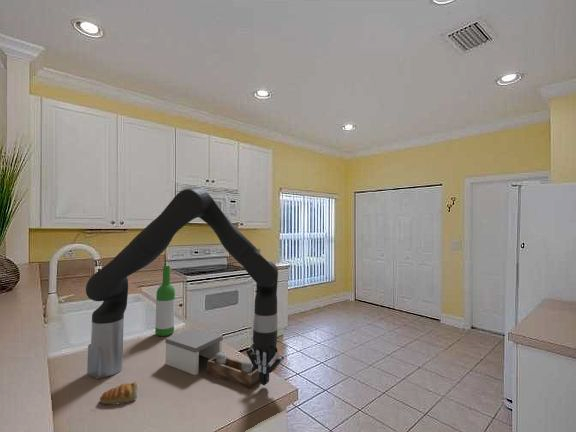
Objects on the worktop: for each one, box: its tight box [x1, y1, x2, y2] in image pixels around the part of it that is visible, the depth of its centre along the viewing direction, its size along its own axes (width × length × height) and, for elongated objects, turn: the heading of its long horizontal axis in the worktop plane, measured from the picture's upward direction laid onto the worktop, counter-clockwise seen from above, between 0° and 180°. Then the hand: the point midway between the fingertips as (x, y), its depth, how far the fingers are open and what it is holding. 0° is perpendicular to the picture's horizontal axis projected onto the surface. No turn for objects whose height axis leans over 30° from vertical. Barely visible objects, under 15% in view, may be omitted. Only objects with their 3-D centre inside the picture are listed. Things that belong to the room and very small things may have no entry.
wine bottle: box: [154, 265, 176, 337], centre depth 135 cm, size 8×8×30 cm
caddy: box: [206, 351, 260, 389], centre depth 99 cm, size 18×6×6 cm, turn 60°
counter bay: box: [164, 327, 224, 376], centre depth 108 cm, size 13×15×9 cm
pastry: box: [99, 381, 139, 405], centre depth 86 cm, size 9×7×4 cm
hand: (263, 383), depth 93 cm, fingers closed
